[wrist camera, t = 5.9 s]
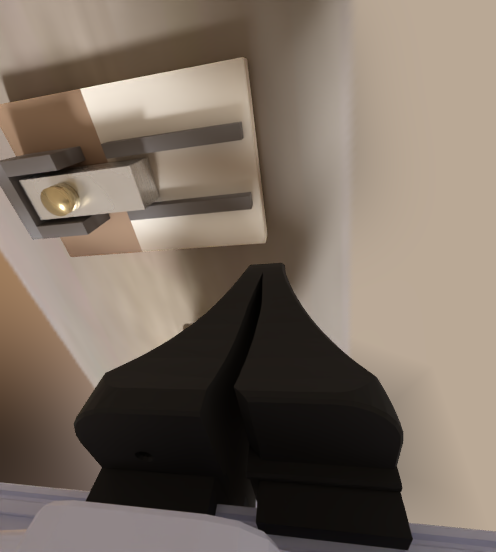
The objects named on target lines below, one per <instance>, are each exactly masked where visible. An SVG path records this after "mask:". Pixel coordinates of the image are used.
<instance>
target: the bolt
mask: <svg viewBox="0 0 496 552" xmlns="http://www.w3.org/2000/svg"><path fill="white" fill-rule="evenodd" d="M19 182H20V184H21V185H22V187H23V189H24V191H25V192H26V194H27V196H28V198H29V200H30V201H31V203H32V205H33V207H34V209H35V210H36V212H37V214H38V216H39V217H40V219H41V220H47V219H56V218H66V217H76V216H86V215H96V214H106V213H116V212H125V211H135V210H145V209H146V208H147V207H149V206H150V205H151V204H152V203H153V202H155V201H156V200H157V199H158V198H159V193H158V190H157V187H156V184H155V181H154V177H153V174H152V171H151V168H150V164H149V161H148V158H147V157H146V158H138V159H131V160H124V161H117V162H109V163H102V164H95V165H88V166H80V167H73V168H66V169H60V170H56V171H49V172H42V173H40V174H37V175H34V176H31V177H28V178H25V179H22V180H19Z"/></svg>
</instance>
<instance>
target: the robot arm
mask: <svg viewBox="0 0 496 552" xmlns="http://www.w3.org/2000/svg"><path fill="white" fill-rule="evenodd" d="M74 428H75V433H76V436H77V437H78V439H79V440H80V442H81V443H82V444H83V446H84V447H85V448H86V449H87V450H88V451H89V452H90V454H91V455H92V456H93V457H94V458H95V460H96V461H97V462H98V463H99V464H100V465H101V467H102V469H101V471H100V473H99V475H98V477H97V479H96V481H95V483H94V485H93V487H92V489H91V491H80V490H70V489H60V488H49V487H39V486H30V485H20V484H9V483H0V552H496V532H495V531H486V530H475V529H465V528H455V527H445V526H435V525H425V524H414V523H409V522H408V519H407V515H406V511H405V507H404V504H403V500H402V497H401V493H400V492H401V491H402V483H401V479H400V476H399V472H398V469H397V463H398V459H399V456H400V452H401V448H402V444H403V430H402V427H401V424H400V421H399V419H398V416H397V414H396V412H395V410H394V407H393V405H392V403H391V401H390V399H389V398H388V396H387V394H386V392H385V390H384V389H383V387H382V385H381V383H380V382H379V380H378V379H377V377H376V376H374V375H373V374H372V373H370V372H369V371H367V370H366V369H365V368H363V367H362V366H360V365H359V364H358V363H356V362H355V361H354V360H352V359H351V358H350V357H349V356H348V355H347V354H345V353H344V352H343V351H342V350H341V349H340V348H339V347H337V346H336V345H335V344H334V343H333V342H332V341H331V340H330V339H329V338H328V337H327V336H326V335H325V334H324V333H323V332H322V331H321V329H320V328H319V327H318V326H317V325H316V324H315V323H314V321H313V320H312V319H311V318H310V316H309V315H308V314H307V312H306V311H305V309H304V308H303V307H302V305H301V303H300V302H299V300H298V299H297V297H296V295H295V293H294V291H293V289H292V287H291V285H290V283H289V281H288V278H287V276H286V272H285V265H284V264H282V263H274V264H257V265H250V266H249V267H248V268H247V270H246V271H245V272H244V273H243V274H242V276H241V277H240V278H239V279H238V281H237V282H236V283H235V284H234V285H233V286H232V288H231V289H230V290H229V291H228V292H227V293H226V294H225V295H224V296H223V297H222V298H221V299H220V300H219V301H218V302H217V303H216V304H215V306H213V307H212V308H211V309H210V310H209V311H208V312H207V313H206V314H205V315H203V316H202V317H201V318H200V319H198V320H197V321H196V322H195V323H193V324H192V325H191V326H189V327H188V328H186V329H185V330H183V331H182V332H181V333H179V334H178V335H176V336H175V337H173V338H172V339H170V340H169V341H167V342H165V343H164V344H162V345H160V346H159V347H157V348H155V349H153V350H152V351H150V352H148V353H146V354H144V355H142V356H140V357H139V358H137V359H134V360H132V361H130V362H128V363H126V364H124V365H122V366H120V367H118V368H116V369H113V370H111V371H109V372H107V373H105V375H104V376H103V377H102V379H101V380H100V382H99V383H98V385H97V387H96V388H95V390H94V391H93V393H92V394H91V396H90V397H89V399H88V400H87V402H86V404H85V405H84V406H83V408H82V410H81V411H80V413H79V414H78V416H77V417H76V420H75V422H74Z"/></svg>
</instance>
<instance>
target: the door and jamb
mask: <svg viewBox="0 0 496 552" xmlns="http://www.w3.org/2000/svg"><path fill="white" fill-rule="evenodd" d="M0 127H1V129H2V131H3V133H4V135H5V137H6V138H7V140H8V142H9V144H10V146H11V148H12V149H13V151H14V153H15V155H16V157H13V158H9V159H5V160H1V161H0V186H1V188H2V189H3V191H4V193H5V194H6V196H7V198H8V199H9V201H10V203H11V204H12V206H13V208H14V209H15V211H16V213H17V214H18V216H19V218H20V219H21V221H22V223H23V224H24V226H25V228H26V229H27V231H28V233H29V234H30V236H31V238H32V239H33V240H34V239H45V238H57V237H60V238H61V240H62V242H63V244H64V246H65V247H66V249H67V251H68V253H69V255H70V257H78V256H92V255H106V254H120V253H134V252H148V251H162V250H176V249H190V248H204V247H217V246H231V245H245V244H259V243H266V239H267V226H266V217H265V209H264V200H263V192H262V183H261V174H260V166H259V157H258V149H257V140H256V131H255V123H254V114H253V106H252V97H251V88H250V80H249V71H248V63H247V59H246V58H244V57H240V58H235V59H230V60H225V61H220V62H214V63H209V64H204V65H199V66H194V67H189V68H184V69H179V70H174V71H168V72H163V73H158V74H153V75H148V76H143V77H138V78H133V79H127V80H122V81H117V82H112V83H107V84H102V85H97V86H92V87H86V88H81V89H76V90H71V91H66V92H61V93H56V94H51V95H45V96H40V97H35V98H30V99H25V100H20V101H15V102H10V103H4V104H0ZM146 157H147V158H148V161H149V164H150V168H151V171H152V174H153V177H154V181H155V184H156V187H157V190H158V193H159V198H158V199H157V200H156V201H155V202H153V203H152V204H151V205H150V206H149V207H147V208H146V209H145V210H135V211H125V212H116V213H106V214H96V215H86V216H76V217H66V218H56V219H47V220H41V219H40V217H39V216H38V214H37V212H36V210H35V209H34V207H33V205H32V203H31V201H30V200H29V198H28V196H27V194H26V192H25V191H24V189H23V187H22V185H21V184H20V182H19V180H22V179H25V178H28V177H31V176H34V175H37V174H40V173H42V172H49V171H56V170H60V169H66V168H73V167H80V166H88V165H95V164H102V163H109V162H117V161H124V160H131V159H138V158H146Z"/></svg>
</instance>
